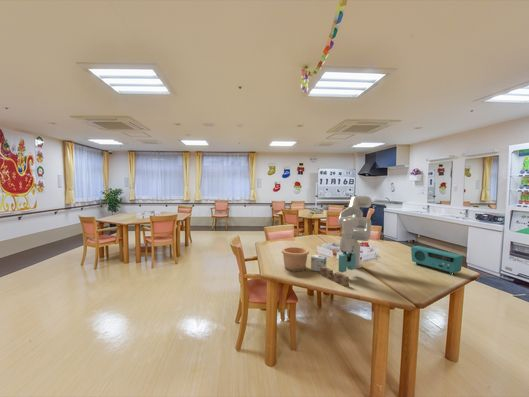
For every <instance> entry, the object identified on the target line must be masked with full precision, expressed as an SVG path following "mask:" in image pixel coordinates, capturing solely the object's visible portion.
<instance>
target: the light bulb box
mask: <svg viewBox="0 0 529 397" xmlns="http://www.w3.org/2000/svg"><path fill="white" fill-rule="evenodd" d="M322 266H324V267H327V256H324V255H316V254H312V255H311V256H310V270H311V271H316V272H320V267H322Z"/></svg>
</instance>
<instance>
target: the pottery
mask: <svg viewBox="0 0 529 397" xmlns="http://www.w3.org/2000/svg"><path fill="white" fill-rule="evenodd" d="M281 253H282V254H283V255H282V256H283V263H284V269H286V270H288V271H291V272H301V271H304V270H305V269H306V266H307V259H308V255H309V253H310V250H309V249H307V248H304V247H300V246H289V247H283V248H282V249H281Z"/></svg>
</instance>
